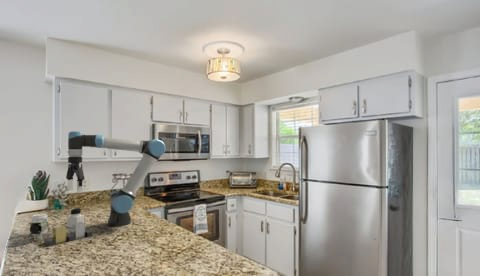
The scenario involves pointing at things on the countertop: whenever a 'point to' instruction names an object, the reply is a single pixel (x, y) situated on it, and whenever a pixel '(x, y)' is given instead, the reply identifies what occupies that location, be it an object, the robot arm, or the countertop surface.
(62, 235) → the block
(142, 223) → the countertop surface
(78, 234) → the light grey upright block
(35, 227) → the pneumatic valve
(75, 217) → the medicine bottle
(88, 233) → the rack
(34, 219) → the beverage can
